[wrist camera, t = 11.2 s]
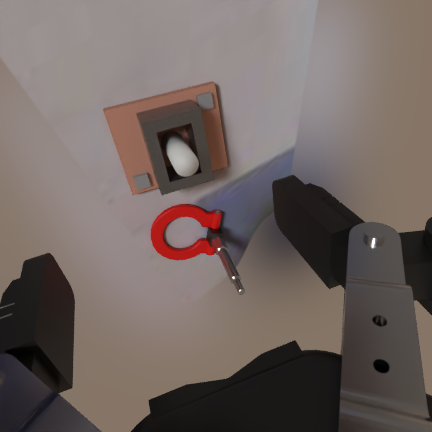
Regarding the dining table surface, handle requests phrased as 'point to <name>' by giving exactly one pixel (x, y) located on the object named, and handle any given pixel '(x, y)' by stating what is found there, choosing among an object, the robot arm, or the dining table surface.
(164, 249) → the tow hook
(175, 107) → the grey hollow block
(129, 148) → the keeper plate
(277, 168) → the dining table surface
